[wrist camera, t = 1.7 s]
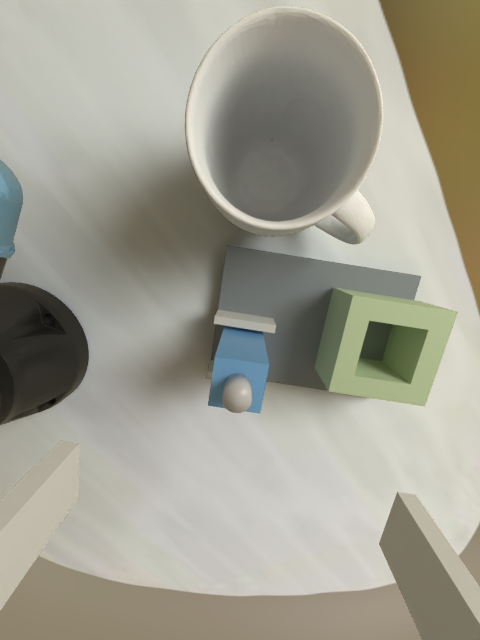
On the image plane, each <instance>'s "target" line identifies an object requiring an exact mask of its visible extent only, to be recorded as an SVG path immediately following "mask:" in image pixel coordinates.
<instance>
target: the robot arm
mask: <svg viewBox="0 0 480 640" xmlns="http://www.w3.org/2000/svg"><path fill="white" fill-rule="evenodd" d="M22 204H23V193H22V189H21V186H20V183H19V181H18V179H17V178H16V176H15V175H14V173H13V172H12V171H11V169H10V168H9V167H8V166H7V165H6V164H5V163H4V162H3V161H1V160H0V279H1V276H2V273H3V270H4V267H5V264H6V261H7V258H10V257H11V256H12V255H13V254H14V252H15V246H14V243H13V240H14V236H15V232H16V228H17V224H18V220H19V216H20V212H21V208H22ZM88 358H89V352H88V344H87V340H86V337H85V334H84V331H83V329H82V327H81V325H80V323H79V321H78V320H77V318H76V317H75V315H74V314H73V313H72V311H71V310H70V309H69V308H68V307H67V306H66V305H65V304H64V303H63V302H62V301H60V300H59V299H58V298H56V297H55V296H54V295H52V294H50V293H49V292H47V291H45V290H43V289H41V288H38V287H35V286H32V285H29V284H24V283H15V282H9V283H0V425H2V424H5V423H8V422H11V421H14V420H17V419H20V418H23V417H26V416H29V415H32V414H35V413H38V412H41V411H44V410H46V409H49V408H51V407H53V406H55V405H56V404H58V403H59V402H61V401H62V400H63V399H64V398H66V397H67V396H68V395H69V394H71V393H72V392H73V391H74V390H75V389H76V388H77V387H78V386H79V384H80V383H81V381H82V380H83V378H84V376H85V373H86V370H87V366H88ZM78 495H79V443H73V442H67V441H60V442H59V443H58V444H57V445H56V446H55V447H54V448H53V449H52V450H51V451H50V452H49V453H48V454H47V455H46V456H45V457H44V458H43V459H42V460H41V461H40V462H39V463H38V464H37V465H36V466H34V467H33V468H32V469H31V470H30V471H29V472H28V473H27V474H26V475H25V476H24V477H23V478H22V479H21V480H20V481H19V482H18V483H17V484H16V485H15V486H14V487H13V488H12V489H11V490H10V491H9V492H8V493H7V494H6V495H5V496H4V497H3V498H2V499H1V500H0V610H1V609H2V607H3V606H4V604H5V603H6V602H7V600H8V599H9V597H10V596H11V594H12V593H13V591H14V590H15V589H16V587H17V586H18V584H19V583H20V581H21V580H22V578H23V577H24V576H25V574H26V573H27V571H28V570H29V568H30V567H31V566H32V564H33V563H34V561H35V560H36V558H37V557H38V556H39V554H40V553H41V551H42V550H43V548H44V547H45V545H46V544H47V543H48V541H49V540H50V538H51V537H52V535H53V534H54V533H55V531H56V530H57V528H58V527H59V525H60V524H61V522H62V521H63V520H64V518H65V517H66V515H67V514H68V512H69V511H70V510H71V508H72V507H73V505H74V504H75V502H76V501H77V499H78ZM379 545H380V547H381V549H382V551H383V554H384V556H385V558H386V560H387V562H388V565H389V567H390V569H391V571H392V574H393V576H394V578H395V580H396V582H397V585H398V587H399V589H400V591H401V594H402V596H403V598H404V600H405V603H406V605H407V607H408V609H409V611H410V614H411V616H412V618H413V620H414V623H415V625H416V627H417V629H418V631H419V633H420V636H421V638H422V640H480V587H479V586H478V584H477V583H476V581H475V580H474V578H473V577H472V575H471V574H470V572H469V571H468V570H467V568H466V567H465V565H464V564H463V563H462V561H461V559H460V558H459V557H458V555H457V554H456V552H455V551H454V549H453V548H452V546H451V545H450V544H449V542H448V541H447V539H446V538H445V536H444V535H443V533H442V532H441V531H440V529H439V528H438V526H437V525H436V523H435V522H434V520H433V519H432V518H431V516H430V515H429V513H428V512H427V510H426V509H425V507H424V506H423V505H422V503H421V502H420V500H419V499H418V497H417V496H416V495H413V494H407V493H400V492H397V494H396V497H395V500H394V503H393V506H392V509H391V511H390V514H389V517H388V520H387V523H386V526H385V528H384V531H383V534H382V537H381V540H380V543H379Z"/></svg>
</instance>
